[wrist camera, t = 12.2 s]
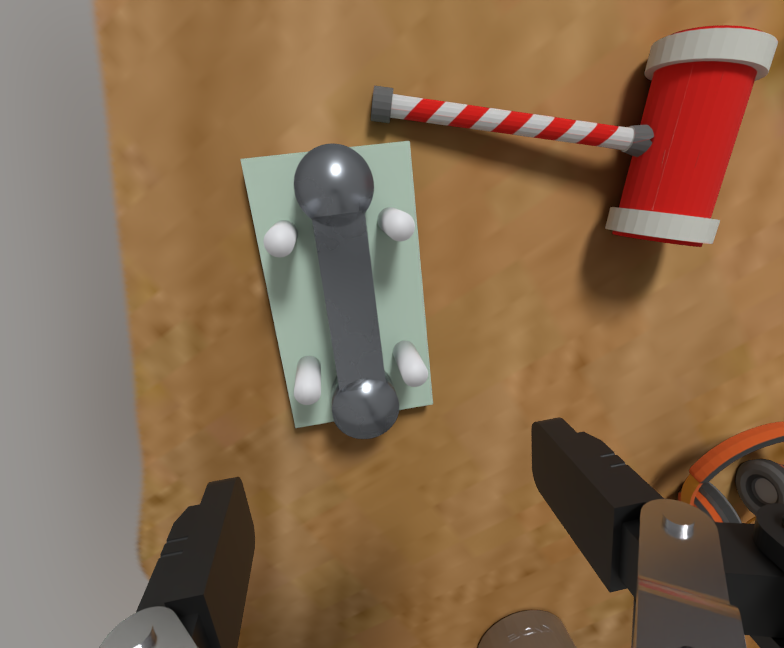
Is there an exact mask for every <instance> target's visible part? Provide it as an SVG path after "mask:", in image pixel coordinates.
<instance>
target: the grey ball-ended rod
mask: <svg viewBox="0 0 784 648" xmlns="http://www.w3.org/2000/svg"><path fill="white" fill-rule="evenodd" d="M294 192H295V196H296V199H297V202H298V204H299V206H300V207H301V209H302V210H303V212H304V213H305V214H306V215H307V216H308V217H309V218H311V219H312V223H313V229H314V235H315V242H316V248H317V254H318V260H319V266H320V273H321V279H322V285H323V291H324V297H325V304H326V310H327V316H328V322H329V328H330V335H331V341H332V347H333V353H334V359H335V366H336V372H337V377H336V378H335V380H334V382H333V384H332V388H331V400H332V415H333V419H334V422H335V424H336V425H337V427H338V428H339V429H340V430H341V431H342V432H343V433H345V434H346V435H348V436H350V437H353V438H357V439H370V438H374V437H377V436H379V435H381V434H383V433H385V432H386V431H387V430H389V429H390V428H391V427H392V425H393V424H394V423H395V421H396V419H397V417H398V413H399V400H398V397H397V394H396V392H395V389H394V386H393V383H392V380H391V378H390V376H389V375H388V373H387V372H386V371H385V370H384V363H383V355H382V347H381V339H380V331H379V323H378V315H377V307H376V298H375V290H374V282H373V274H372V266H371V258H370V250H369V242H368V233H367V225H366V217H365V212H366V211H367V209H368V208H369V206H370V204H371V201H372V198H373V194H374V180H373V176H372V172H371V170H370V168H369V166H368V164H367V162H366V161H365V160H364V158H363V157H362V156H361V155H360V154H359V153H357V152H356V151H355V150H353V149H351V148H349V147H347V146H344V145H340V144H325V145H321V146H318V147H316V148H314V149H312V150H311V151H309V152H308V153H307V154H306V155H305V156H304V157H303V158H302V159H301V161H300V163H299V164H298V166H297V169H296V172H295V175H294Z"/></svg>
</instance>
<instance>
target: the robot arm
mask: <svg viewBox="0 0 784 648" xmlns="http://www.w3.org/2000/svg"><path fill="white" fill-rule="evenodd" d="M532 472H533V477H534V481H535V484H536V486H537V488H538V490H539V492H540V494H541V495H542V496H543V498H544V499H545V501H546V502H547V504H548V505H549V506H550V508H551V509H552V511H553V512H554V514H555V515H556V516H557V518H558V519H559V521H560V522H561V524H562V525H563V526H564V528H565V529H566V531H567V532H568V534H569V535H570V536H571V538H572V539H573V541H574V542H575V544H576V545H577V546H578V548H579V549H580V551H581V552H582V554H583V555H584V556H585V558H586V559H587V561H588V562H589V564H590V565H591V566H592V568H593V569H594V571H595V572H596V574H597V575H598V576H599V578H600V579H601V581H602V582H603V584H604V585H605V586H606V588H607V589H608V591H609V592H614V591H618V590H622V589H627V588H628V590H629V591H630V592H631V593H632V595H633V596H634V601H633V619H632V640H631V648H746V642H745V637H744V635H750V636H751V637H752V638H753V640H754V641H755V642H756V643H757V644H758V645H759V647H760V648H784V504H780V503H775V504H768V505H764V506H762V507H761V508H759V509H758V511H757V514H756V519H755V524H746V523H726V522H714V521H713V520H712V519H711V518H710V517H709V516H708V515H707V514H706V513H704V512H703V511H702V510H700V509H698V508H696V507H694V506H692V505H690V504H687V503H685V502H681V501H678V500H672V499H664V498H663V497H662V496H661V495H660V494H658V493H657V492H656V491H655V490H654V489H653V488H652V487H651V486H650V485H649V484H648V483H647V482H646V481H644V480H643V479H642V478H641V477H640V476H639V475H638V474H637V473H636V472H635V471H634V470H633V469H632V468H631V467H629V466H628V465H625V462H624V461H623V460H622V459H621V458H620V457H619V456H618V455H615V454H614V452H613V451H612V450H611V449H610V448H609V447H608V446H607V445H606V444H605V443H604V442H603V441H601V440H599V439H597V438H595V437H593V436H591V435H589V434H587V433H585V432H579V433H577V432H576V431H575V430H574V429H573V428H572V427H571V426H570V425H569V424H568V423H567V422H566V421H565V420H563V419H562V418H554V419H548V420H543V421H538V422H534V423H533V424H532ZM254 549H255V532H254V525H253V521H252V517H251V513H250V510H249V506H248V502H247V498H246V495H245V491H244V487H243V483H242V481H241V479H240V477H235V478H229V479H224V480H219V481H213V482H209V483H208V485H207V487H206V490H205V492H204V495H203V498H202V501H201V503H200V505H195V506H189V507H188V508H187V509H186V510H185V511H184V512H183V513H182V515H181V516H180V517H179V518H178V519H177V520H176V521H175V522H174V524H173V526H172V529H171V531H170V533H169V536H168V538H167V544H165V545H164V547H163V550H162V552H161V558H159V559H158V562H157V564H156V566H155V569H154V571H153V573H152V576H151V578H150V580H149V583H148V585H147V588H146V590H145V592H144V595H143V597H142V599H141V602H140V604H139V606H138V609H137V611H136V613H135V614H133V615H131V616H129V617H128V618H126V619H125V620H123V621H122V622H121V623H119V624H118V625H117V626H116V627H115V628H114V629H113V630H112V631H111V632H110V633H109V634H108V635H107V637H106V638H105V639H104V641H103V642H102V644H101V645H100V647H99V648H237V646H238V640H239V634H240V629H241V623H242V617H243V612H244V606H245V600H246V595H247V589H248V583H249V578H250V572H251V566H252V561H253V555H254ZM478 648H576V646H575V644H574V643H573V641H572V639H571V637H570V635H569V633H568V632H567V630H566V628H565V626H564V624H563V623H562V621H561V620H560V619H559V618H558V617H557V616H555V615H553V614H551V613H549V612H546V611H541V610H528V611H521V612H518V613H515V614H512V615H510V616H508V617H506V618H503V619H502V620H500V621H499V622H497V623H496V624H494V625H493V626H492V627H491V628H490V629H489V630H488V631H487V632H486V634H485V635H484V636H483V638H482V640H481V642H480V644H479V646H478Z"/></svg>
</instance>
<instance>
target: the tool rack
mask: <svg viewBox="0 0 784 648" xmlns="http://www.w3.org/2000/svg"><path fill="white" fill-rule="evenodd" d="M349 148H351V149H353V150H355V151H356V152H357V153H359V154H360V155H361V156H362V157H363V158H364V160H365V161H366V162H367V164H368V166H369V168H370V170H371V172H372V176H373V180H374V194H373V198H372V201H371V204H370V206H369V208H368V209H367V211H366V212H365V217H366V225H367V233H368V242H369V250H370V258H371V266H372V274H373V282H374V290H375V298H376V307H377V315H378V323H379V331H380V339H381V347H382V355H383V363H384V370H385V371H386V372H387V373H388V375H389V376H390V378H391V380H392V383H393V386H394V389H395V392H396V394H397V397H398V400H399V410H402V409H408V408H414V407H420V406H426V405H431V404H433V399H432V388H431V377H430V365H429V354H428V343H427V331H426V320H425V309H424V298H423V286H422V275H421V264H420V252H419V241H418V230H417V219H416V207H415V196H414V185H413V173H412V162H411V151H410V141H403V142H394V143H385V144H375V145H366V146H357V147H349ZM307 153H308V152H302V153H292V154H283V155H274V156H265V157H256V158H246V159H241V164H242V169H243V174H244V179H245V183H246V188H247V193H248V198H249V203H250V208H251V213H252V218H253V223H254V227H255V232H256V237H257V242H258V247H259V252H260V257H261V262H262V267H263V271H264V276H265V281H266V286H267V291H268V296H269V301H270V306H271V310H272V315H273V320H274V325H275V330H276V335H277V340H278V345H279V350H280V354H281V359H282V364H283V369H284V374H285V379H286V384H287V389H288V394H289V398H290V403H291V408H292V413H293V418H294V423H295V428H299V427H305V426H310V425H316V424H322V423H328V422H333V421H334V419H333V415H332V400H331V388H332V384H333V382H334V380H335V378H336V377H337V372H336V366H335V359H334V353H333V347H332V341H331V335H330V328H329V322H328V316H327V310H326V304H325V297H324V291H323V285H322V279H321V273H320V266H319V260H318V254H317V248H316V242H315V235H314V229H313V223H312V219H311V218H309V217H308V216H307V215H306V214H305V213H304V212H303V210H302V209H301V207H300V206H299V204H298V202H297V199H296V196H295V192H294V175H295V172H296V169H297V166H298V164H299V163H300V161H301V159H302V158H303V157H304V156H305V155H306V154H307Z"/></svg>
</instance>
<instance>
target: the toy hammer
mask: <svg viewBox="0 0 784 648" xmlns="http://www.w3.org/2000/svg"><path fill="white" fill-rule="evenodd" d="M777 43H778V41H777V39H776V38H775V37H774V36H772V35H770V34H768V33H765V32H763V31H760V30H757V29H754V28H749V27H742V26H728V25H725V26H705V27H698V28H692V29H687V30H683V31H679V32H676V33H674V34H671V35H669V36H666V37H664V38H662V39H659V40H658V41H656V42H655V43H654V44H653V45H652V46H651V50H650V54H649V57H648V61H647V65H646V69H645V73H644V75H645V77H646V78H648V79H649V80H652V82H651V85H650V89H649V93H648V97H647V101H646V105H645V108H644V112H643V116H642V120H641V124H640V125H634V126H630V127H620V126H613V125H606V124H599V123H592V122H585V121H578V120H571V119H564V118H557V117H550V116H542V115H535V114H528V113H521V112H514V111H507V110H500V109H493V108H486V107H479V106H472V105H465V104H458V103H451V102H444V101H437V100H430V99H423V98H416V97H409V96H403V95H396V94H393V88H388V87H381V86H374V91H373V101H372V112H371V121H377V122H384V123H389V122H390V118H397V119H404V120H411V121H419V122H426V123H433V124H440V125H447V126H455V127H462V128H469V129H476V130H484V131H491V132H498V133H505V134H512V135H520V136H527V137H534V138H541V139H548V140H556V141H563V142H570V143H577V144H585V145H592V146H599V147H606V148H612V149H619V150H621V151H622V152H624V153H627V154H630V155H632V159H631V162H630V166H629V170H628V174H627V178H626V182H625V186H624V189H623V193H622V197H621V201H620V205H619V208H617V207H610V211H609V215H608V219H607V223H606V227H605V229H609V230H613V232H612V234H615V235H619V236H625V237H631V238H637V239H643V240H650V241H656V242H663V243H671V244H678V245H687V246H696V247H702V244H703V243H708V244H713V241H714V238H715V235H716V232H717V228H718V225H719V222H720V220H716V219H711V216H712V213H713V210H714V206H715V203H716V200H717V197H718V194H719V191H720V188H721V184H722V181H723V178H724V175H725V172H726V169H727V166H728V163H729V159H730V156H731V153H732V150H733V147H734V144H735V141H736V137H737V134H738V131H739V128H740V125H741V122H742V119H743V115H744V112H745V109H746V106H747V103H748V100H749V97H750V94H751V90H752V87H753V84H754V81H756V80H759V79H761V78H763V77H765V76H766V75H767V74H768V72H769V69H770V66H771V62H772V59H773V56H774V53H775V50H776V47H777Z"/></svg>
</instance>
